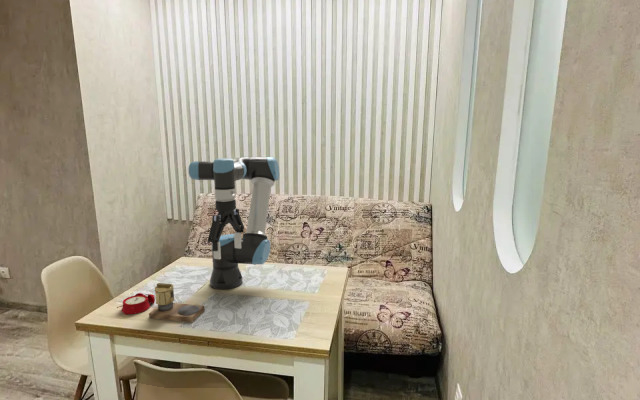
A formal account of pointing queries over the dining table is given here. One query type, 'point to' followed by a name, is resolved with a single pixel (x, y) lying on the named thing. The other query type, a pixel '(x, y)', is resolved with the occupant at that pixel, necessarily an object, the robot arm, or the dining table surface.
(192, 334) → the dining table surface
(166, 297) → the cap
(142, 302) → the alarm clock
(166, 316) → the post plinth
